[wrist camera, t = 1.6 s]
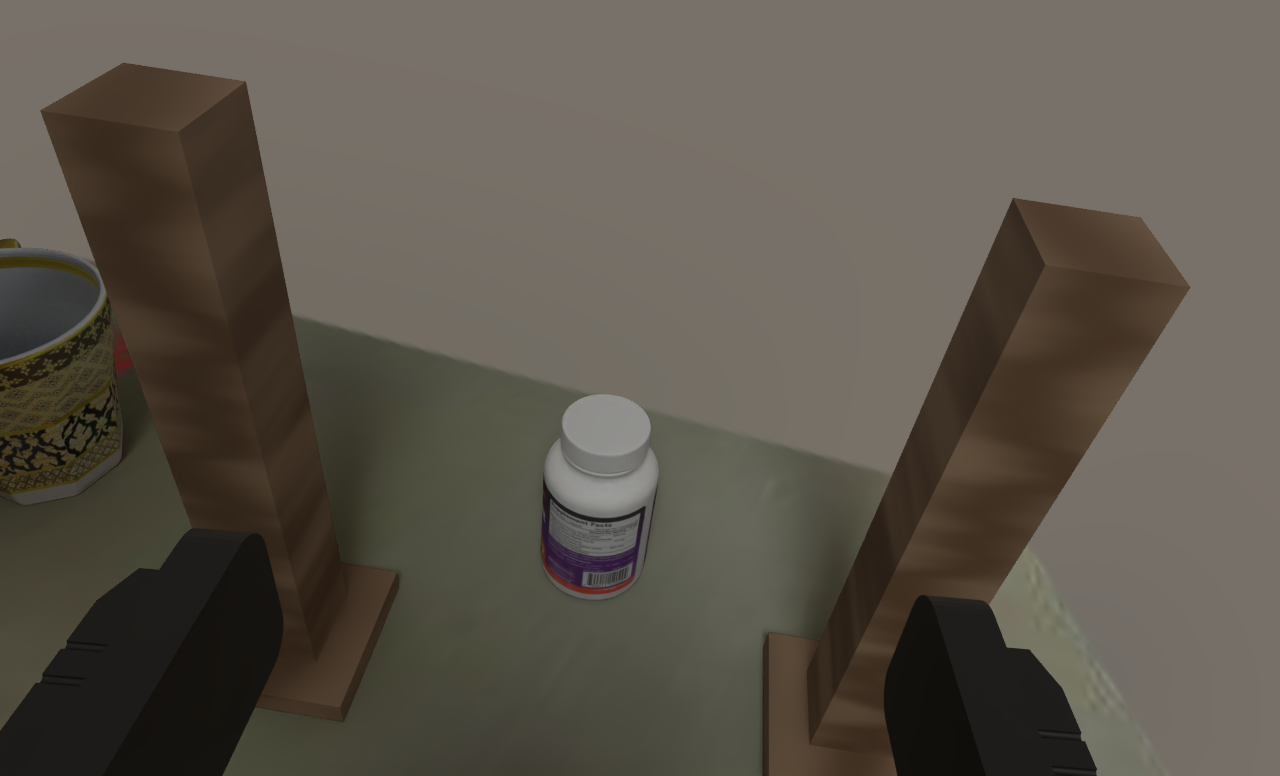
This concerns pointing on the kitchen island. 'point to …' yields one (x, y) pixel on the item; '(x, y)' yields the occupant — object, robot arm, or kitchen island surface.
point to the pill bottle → (598, 498)
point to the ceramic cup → (55, 376)
